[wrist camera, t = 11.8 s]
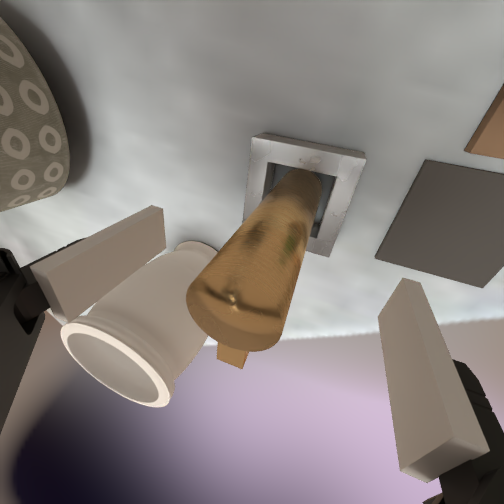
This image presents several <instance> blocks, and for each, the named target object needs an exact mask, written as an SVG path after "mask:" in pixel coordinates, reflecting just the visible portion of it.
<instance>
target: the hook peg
mask: <svg viewBox="0 0 504 504" xmlns="http://www.w3.org/2000/svg"><path fill="white" fill-rule="evenodd" d="M321 194H322V186H321V182H320V180H319V178H318V177H317V176H316V175H315V174H314V173H313V172H311V171H309V170H304V169H294V170H292V171H290V172H288V173H287V174H285V175H284V176H283V178H282V179H281V180H280V181H279V182H278V183H277V185H276V186H275V187H274V188H273V189H272V190H271V191H270V193H269V194H268V195H267V196H266V197H265V198H264V200H263V201H262V202H261V203H260V204H259V205H258V207H257V208H256V209H255V210H254V211H253V212H252V213H251V215H250V216H249V217H248V218H247V219H246V220H245V222H244V223H243V224H242V225H241V226H240V227H239V229H238V230H237V231H236V232H235V233H234V234H233V235H232V237H231V238H230V239H229V240H228V241H227V242H226V244H225V245H224V246H223V247H222V248H221V249H220V251H219V252H218V253H217V254H216V255H215V256H214V258H213V259H212V260H211V261H210V262H209V263H208V264H207V266H206V267H205V268H204V269H203V270H202V271H201V273H200V274H199V275H198V276H197V277H196V278H195V280H194V281H193V282H192V283H191V284H190V286H189V287H188V290H187V293H186V304H187V308H188V311H189V313H190V315H191V317H192V318H193V320H194V321H195V323H196V324H197V325H198V326H199V327H200V328H201V329H202V330H203V331H204V332H205V333H206V334H207V335H209V336H210V337H211V338H213V339H214V340H216V341H217V342H218V347H217V359H219V360H221V361H223V362H226V363H228V364H231V365H233V366H236V367H238V368H240V369H243V366H244V363H245V361H246V358H247V356H248V353H249V352H250V351H251V352H256V351H263V350H266V349H269V348H271V347H272V346H274V345H275V344H276V343H277V342H278V341H279V339H280V337H281V335H282V331H283V328H284V324H285V321H286V317H287V314H288V310H289V307H290V303H291V300H292V296H293V293H294V289H295V286H296V282H297V279H298V275H299V272H300V268H301V265H302V261H303V258H304V254H305V251H306V247H307V244H308V240H309V237H310V233H311V230H312V226H313V223H314V219H315V216H316V212H317V209H318V205H319V202H320V198H321Z"/></svg>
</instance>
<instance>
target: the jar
mask: <svg viewBox="0 0 504 504" xmlns="http://www.w3.org/2000/svg"><path fill="white" fill-rule="evenodd" d="M217 253H218V252H217V251H216V250H214V249H213V248H211V247H210V246H208V245H206V244H203V243H201V242H196V241H187V242H183V243H181V244H179V245H178V246H177V247H176V248H175V250H174V251H173V252H171V253H167V254H164V255H162V256H160V257H158V258H156V259H154V260H152V261H151V262H149V263H147V264H145V265H143V266H142V267H141V268H140V269H138V270H137V271H136V272H134V273H133V274H132V275H131V276H129V277H128V278H127V279H125V280H124V281H123V282H122V283H120V284H119V285H118V286H116V287H115V288H114V289H112V290H111V291H110V292H109V293H107V294H106V295H105V296H103V297H102V298H101V299H100V300H98V301H97V303H96V304H95V305H94V306H93V307H92V309H91V310H90V312H89V313H88V315H84V316H78V317H76V318H75V319H74V320H73V321H71V322H70V323H66V324H65V325H64V326H63V327H62V329H61V338H62V341H63V343H64V345H65V347H66V348H67V350H68V351H69V353H70V354H71V355H72V357H73V358H74V359H75V360H76V361H77V362H78V363H79V364H80V365H81V366H82V367H83V368H84V369H85V370H86V371H87V372H88V373H89V374H91V375H92V376H93V377H94V378H96V379H97V380H98V381H99V382H101V383H102V384H104V385H105V386H107V387H108V388H110V389H111V390H113V391H114V392H116V393H118V394H120V395H121V396H123V397H125V398H127V399H129V400H132V401H134V402H137V403H139V404H142V405H146V406H150V407H163V406H165V405H167V404H168V402H169V400H170V398H171V397H172V395H173V393H174V389H175V383H174V380H175V379H176V378H177V377H178V376H179V375H180V374H181V373H182V372H183V371H184V370H185V369H186V368H187V367H188V365H189V364H190V363H191V362H192V360H193V359H194V358H195V356H196V355H197V354H198V352H199V351H200V349H201V347H202V346H203V344H204V342H205V341H206V339H207V337H208V335H207V334H206V333H205V332H204V331H203V330H202V329H201V328H200V327H199V326H198V325H197V324H196V323H195V321H194V320H193V318H192V317H191V315H190V313H189V311H188V308H187V304H186V293H187V290H188V287H189V286H190V284H191V283H192V282H193V281H194V280H195V278H196V277H197V276H198V275H199V274H200V273H201V271H202V270H203V269H204V268H205V267H206V266H207V264H208V263H209V262H210V261H211V260H212V259H213V258H214V256H215V255H216V254H217Z"/></svg>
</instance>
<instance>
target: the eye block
mask: <svg viewBox="0 0 504 504" xmlns="http://www.w3.org/2000/svg"><path fill="white" fill-rule="evenodd" d="M366 160H367V159H366V156H365V153H364V152H360V151H355V150H350V149H345V148H339V147H334V146H329V145H324V144H318V143H313V142H308V141H303V140H298V139H292V138H287V137H282V136H277V135H271V134H266V133H262V134H259V135H257V136H254V137H252V143H251V152H250V161H249V169H248V178H247V187H246V196H245V205H244V213H243V222H242V224H243V223H244V222H245V220H246V219H247V218H248V217H249V216H250V215H251V213H252V212H253V211H254V210H255V209H256V208H257V207H258V205H259V204H260V203H261V202H262V201H263V200H264V198H265V197H266V196H267V195H268V194H269V193H270V191H271V186H272V180H273V174H274V169H275V163H277V164H281V165H286V166H291V167H295V168H300V169H304V170H309V171H314V172H318V173H323V174H328V175H332V176H336V177H335V180H334V184H333V187H332V190H331V193H330V196H329V199H328V202H327V205H326V208H325V211H324V214H323V217H322V220H321V223H320V224H317V223H313V226H312V230H311V233H310V237H309V240H308V244H307V247H306V251H308V252H312V253H315V254H319V255H322V256H326V257H329V256H330V253H331V251H332V248H333V246H334V243H335V240H336V238H337V235H338V233H339V230H340V227H341V225H342V222H343V220H344V217H345V215H346V212H347V209H348V207H349V204H350V202H351V199H352V196H353V194H354V191H355V189H356V186H357V184H358V181H359V178H360V176H361V173H362V171H363V168H364V165H365V163H366Z"/></svg>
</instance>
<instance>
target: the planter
mask: <svg viewBox="0 0 504 504" xmlns="http://www.w3.org/2000/svg"><path fill="white" fill-rule="evenodd" d="M69 169H70V152H69V145H68V139H67V135H66V130H65V127H64V123H63V120H62V117H61V114H60V112H59V109H58V106H57V104H56V102H55V99H54V97H53V95H52V92H51V90H50V88H49V86H48V84H47V82H46V80H45V79H44V77H43V75H42V73H41V71H40V70H39V68H38V66H37V65H36V63H35V61H34V60H33V58H32V57H31V55H30V54H29V52H28V51H27V49H26V48H25V46H24V45H23V44H22V42H21V41H20V40H19V38H18V37H17V36H16V34H15V33H14V32H13V31H12V29H11V28H10V27H9V26H8V25H7V24H6V22H5V21H4V20H3V19H2V18H1V17H0V212H2V211H5V210H9V209H12V208H15V207H18V206H21V205H24V204H27V203H31V202H34V201H37V200H40V199H43V198H46V197H50V196H53V195H55V194H57V193H58V192H59V191H60V190H61V189H62V188H63V187H64V185H65V183H66V181H67V178H68V175H69Z"/></svg>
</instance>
